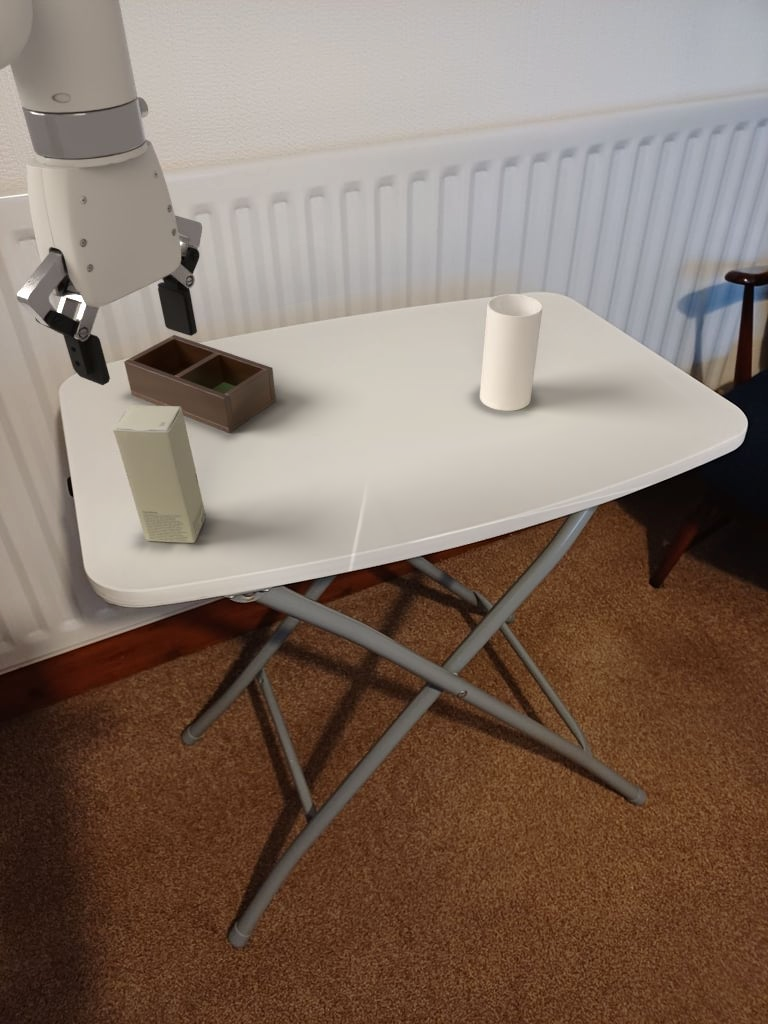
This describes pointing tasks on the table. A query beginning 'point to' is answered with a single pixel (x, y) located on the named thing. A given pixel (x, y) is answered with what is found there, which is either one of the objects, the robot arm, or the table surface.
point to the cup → (510, 351)
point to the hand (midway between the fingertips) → (140, 354)
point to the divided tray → (201, 382)
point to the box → (161, 472)
